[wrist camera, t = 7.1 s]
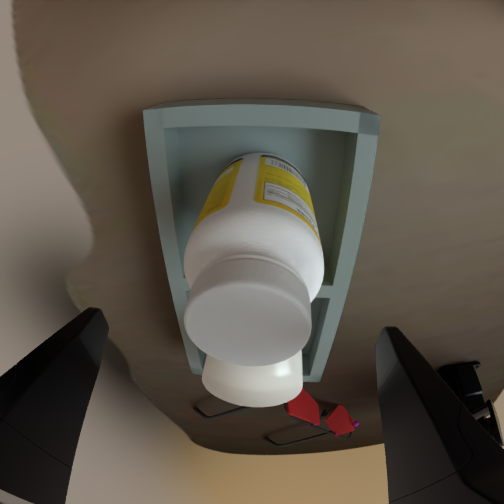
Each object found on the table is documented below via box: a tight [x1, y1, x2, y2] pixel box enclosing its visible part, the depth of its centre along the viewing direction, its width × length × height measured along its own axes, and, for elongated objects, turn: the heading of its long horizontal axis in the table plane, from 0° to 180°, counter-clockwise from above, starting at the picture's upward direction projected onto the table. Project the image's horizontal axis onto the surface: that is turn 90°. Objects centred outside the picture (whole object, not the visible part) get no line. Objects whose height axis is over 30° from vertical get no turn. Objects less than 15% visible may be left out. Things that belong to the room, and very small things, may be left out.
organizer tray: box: [143, 98, 381, 382], centre depth 19 cm, size 21×11×3 cm, turn 0°
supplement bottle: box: [184, 153, 324, 366], centre depth 13 cm, size 5×5×10 cm
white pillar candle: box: [202, 350, 303, 407], centre depth 20 cm, size 6×6×6 cm
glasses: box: [193, 388, 359, 447], centre depth 32 cm, size 14×16×5 cm
